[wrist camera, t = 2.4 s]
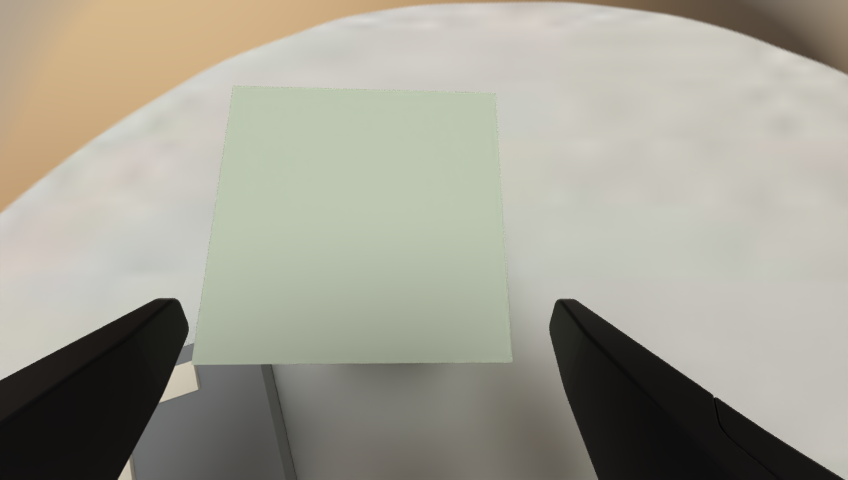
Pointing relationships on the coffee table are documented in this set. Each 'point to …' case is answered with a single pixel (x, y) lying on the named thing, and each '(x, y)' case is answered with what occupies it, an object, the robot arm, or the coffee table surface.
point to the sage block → (356, 231)
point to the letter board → (214, 427)
